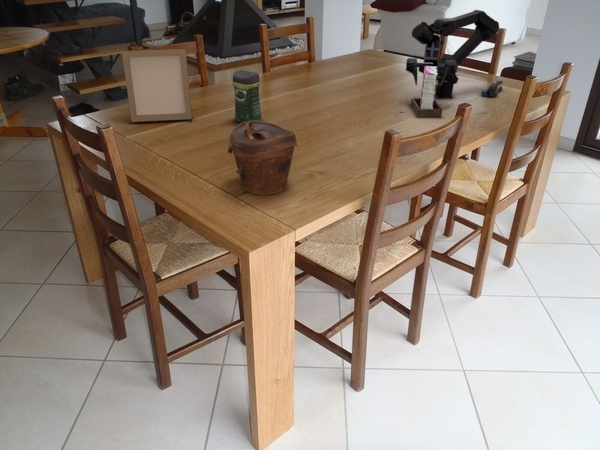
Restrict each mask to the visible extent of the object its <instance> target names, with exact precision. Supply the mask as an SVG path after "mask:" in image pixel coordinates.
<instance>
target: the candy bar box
mask: <svg viewBox="0 0 600 450" xmlns="http://www.w3.org/2000/svg"><path fill="white" fill-rule="evenodd" d="M436 84H437V67H435V66H425V67H424V74H423V73H422V83H421V91H420V98H421V99H420V106H419V108H420V109H433V104H434V99H435V97H436V95H435V89H436Z"/></svg>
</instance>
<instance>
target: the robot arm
mask: <svg viewBox="0 0 600 450" xmlns="http://www.w3.org/2000/svg"><path fill="white" fill-rule="evenodd" d="M473 24H474V26H475V28H474V32H473V33H472V34H471V36H469V38H468V39H466V41H465V42H463V44H462V45H461V46H459V48H457V50H456V51H454V52H453V54H452V55H450V57H445V56H442V57H441V58H440V52H441V45H444V44H445V42H444V40H443V39H442V37H449V36H450V35H453V34H454V33H455V32H456V30H458V29H461V28H464V27H467V26H470V25H473ZM499 31H500V23H499V21H497V20H495V19H494V18H493V17H491V16H490V15H488V13H486V12H485V11H484V10H480V9H473V10H472V11H470V12H467V13H464V14H461V15H458V16H457V15H456V16H455V17H450V18H449V17H441V18H437V19H435V20H434V22H432V23H431V24H428V23H427V22H426V21H421V22H420V23H419V24H417V25H416V26H415V27H414V28H413V29H412V30H411V37H412V38H413V39H415V40H416V41H417V42H419V44H421V45H422V46H423V45H424V46H425V47H424V54H423V61H418V58H416V57H407V59H406V65H405V71H406V72H408V73H410V74H412V76H413V81H414V84H415V86H417V85H418V73H420V74H422V75H423V74H424V67H425V66H435V67H437V81H436V89H435V97H436V98H437V99H454V96H453V90H454V85H456V84H458V81H459V77H458V76H457V74H456V73H457V72H458V69H459V66H460V65H461V64H462V62H464V61H465V60H466V59H467V58H468V57H469V55H471V54H472V53H473V51H475V50H476V49H477V48H478V47H479V46H480V45H481V44H482V43H483V42H485V41H487V40H490V39H492V38H494V36H495V35H497V34H498V32H499Z"/></svg>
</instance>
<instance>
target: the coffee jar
mask: <svg viewBox="0 0 600 450" xmlns="http://www.w3.org/2000/svg"><path fill="white" fill-rule="evenodd" d="M260 85H261V79H260V74H259V73H258V72H253V71H249V70H243V69H238V70H236V71H234V72H233V74H232V86H233V89H234V90H233V91H234V105H235V106H234V120H235V121H236V122H237V123H239V124H241V123H243V122H246V121H262V111H261V101H260Z"/></svg>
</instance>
